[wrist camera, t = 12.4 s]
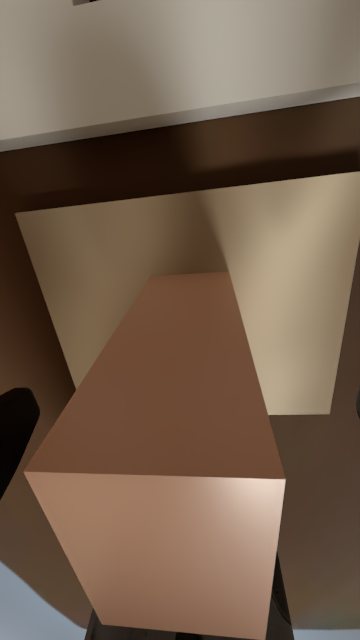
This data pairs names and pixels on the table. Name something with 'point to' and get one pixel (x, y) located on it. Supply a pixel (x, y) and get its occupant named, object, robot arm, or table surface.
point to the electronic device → (277, 634)
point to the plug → (169, 468)
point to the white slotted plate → (166, 63)
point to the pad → (213, 256)
